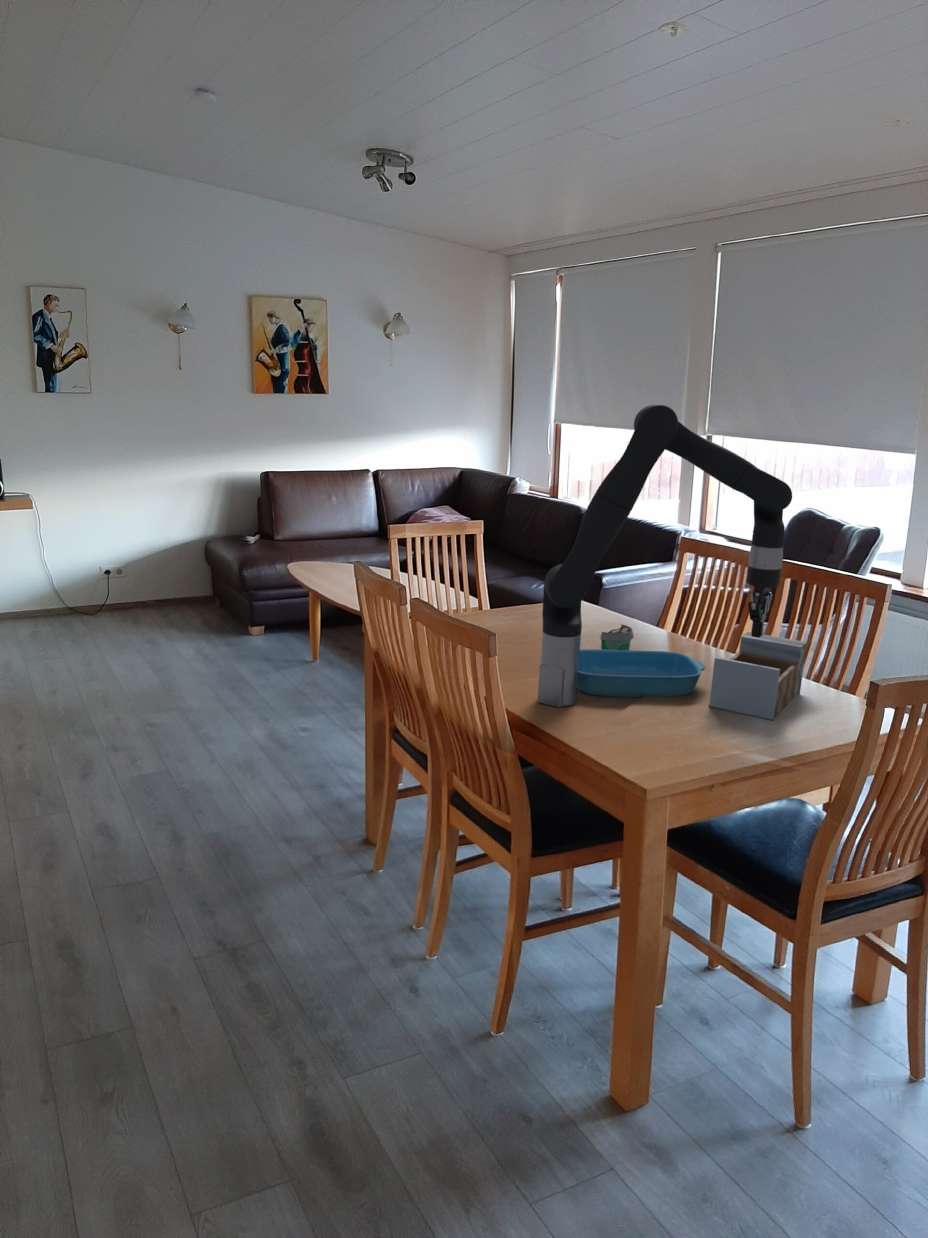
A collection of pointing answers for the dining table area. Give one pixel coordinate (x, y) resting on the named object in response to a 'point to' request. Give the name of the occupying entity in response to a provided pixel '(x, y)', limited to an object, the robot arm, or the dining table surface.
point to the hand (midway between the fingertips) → (756, 636)
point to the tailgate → (744, 688)
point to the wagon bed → (776, 662)
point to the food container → (617, 639)
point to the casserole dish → (636, 673)
